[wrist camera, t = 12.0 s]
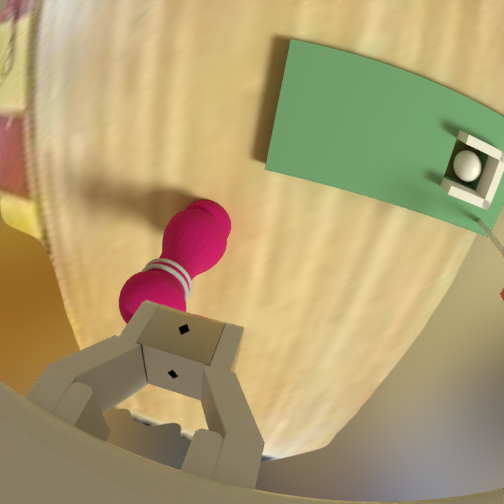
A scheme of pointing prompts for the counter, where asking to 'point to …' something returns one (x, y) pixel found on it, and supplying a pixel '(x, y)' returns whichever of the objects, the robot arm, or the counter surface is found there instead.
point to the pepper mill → (179, 258)
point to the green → (386, 136)
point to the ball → (467, 165)
